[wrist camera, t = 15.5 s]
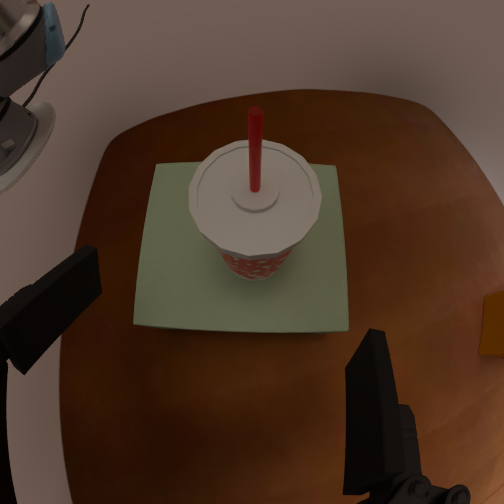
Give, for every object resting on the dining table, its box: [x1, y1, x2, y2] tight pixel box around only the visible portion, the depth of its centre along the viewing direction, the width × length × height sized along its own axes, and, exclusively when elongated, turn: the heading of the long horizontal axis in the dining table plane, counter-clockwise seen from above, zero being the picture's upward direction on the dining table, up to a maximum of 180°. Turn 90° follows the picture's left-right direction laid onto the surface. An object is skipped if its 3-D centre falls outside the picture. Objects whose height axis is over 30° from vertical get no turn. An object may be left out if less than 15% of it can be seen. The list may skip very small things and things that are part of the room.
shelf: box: [133, 162, 349, 334], centre depth 25 cm, size 14×16×7 cm
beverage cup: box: [189, 106, 322, 281], centre depth 14 cm, size 6×6×14 cm
